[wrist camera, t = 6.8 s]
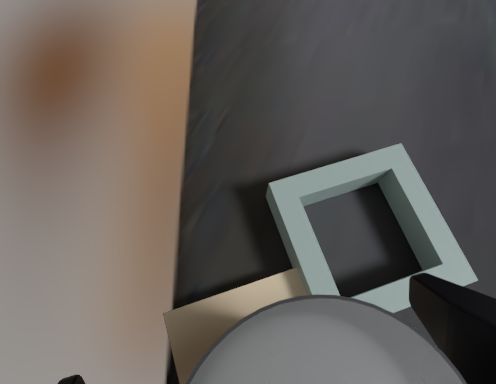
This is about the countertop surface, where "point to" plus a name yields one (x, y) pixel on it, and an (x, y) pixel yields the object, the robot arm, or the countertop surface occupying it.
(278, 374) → the grey round peg
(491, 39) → the countertop surface
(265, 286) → the beige square plate
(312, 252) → the socket
